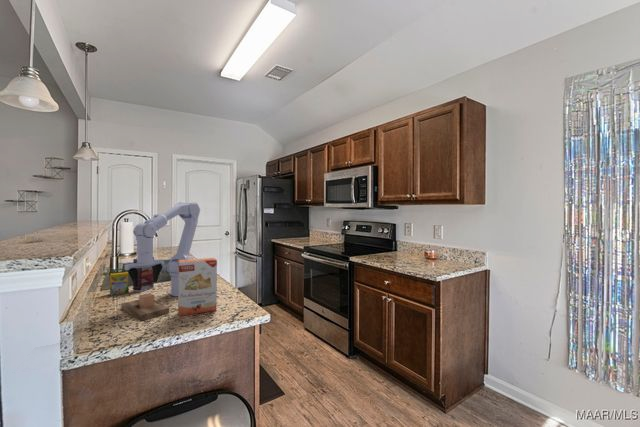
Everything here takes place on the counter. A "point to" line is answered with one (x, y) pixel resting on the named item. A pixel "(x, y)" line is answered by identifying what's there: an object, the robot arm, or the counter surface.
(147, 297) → the terracotta plug
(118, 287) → the crayon box
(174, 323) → the counter surface
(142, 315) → the notched board
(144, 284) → the supplement box
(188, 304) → the cracker box
